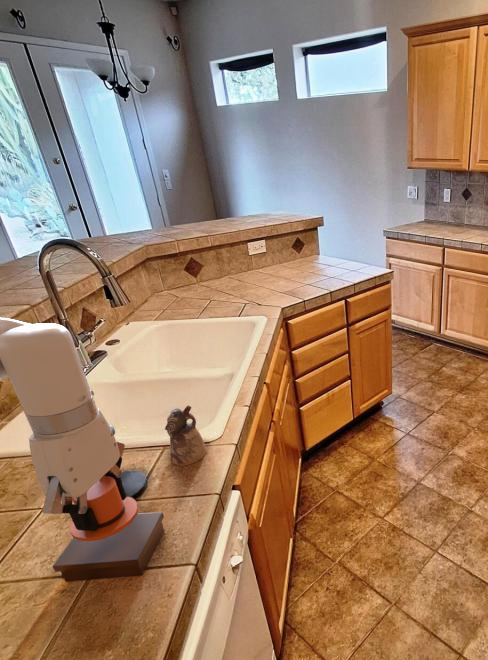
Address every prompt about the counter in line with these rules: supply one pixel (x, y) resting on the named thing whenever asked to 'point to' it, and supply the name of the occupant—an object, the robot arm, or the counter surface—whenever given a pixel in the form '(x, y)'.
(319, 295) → the counter surface
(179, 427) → the figurine
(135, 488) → the hat stand
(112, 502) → the hat
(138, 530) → the walnut stand
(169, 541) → the counter surface
